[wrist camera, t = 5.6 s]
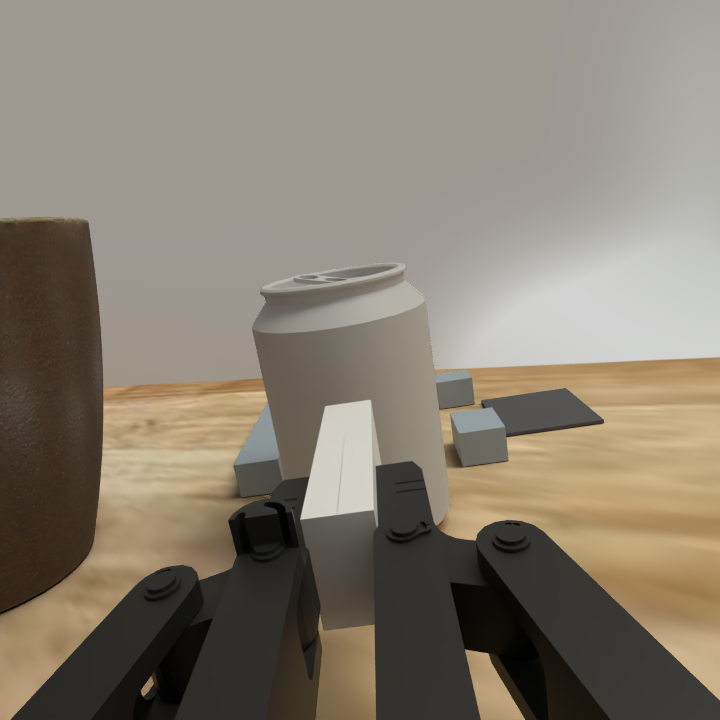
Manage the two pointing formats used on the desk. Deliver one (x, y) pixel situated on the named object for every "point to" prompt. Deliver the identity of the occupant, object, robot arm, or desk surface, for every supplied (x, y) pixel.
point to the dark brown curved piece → (47, 403)
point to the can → (352, 366)
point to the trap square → (542, 412)
